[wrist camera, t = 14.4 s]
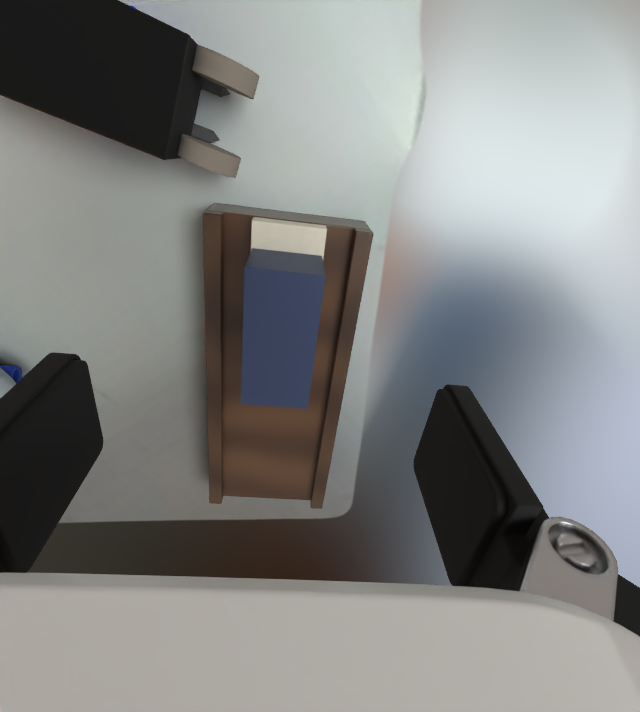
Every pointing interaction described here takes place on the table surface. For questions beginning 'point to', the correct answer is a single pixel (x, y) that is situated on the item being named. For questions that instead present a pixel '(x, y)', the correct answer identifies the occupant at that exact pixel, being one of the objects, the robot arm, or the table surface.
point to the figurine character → (117, 75)
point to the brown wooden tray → (224, 362)
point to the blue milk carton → (281, 312)
